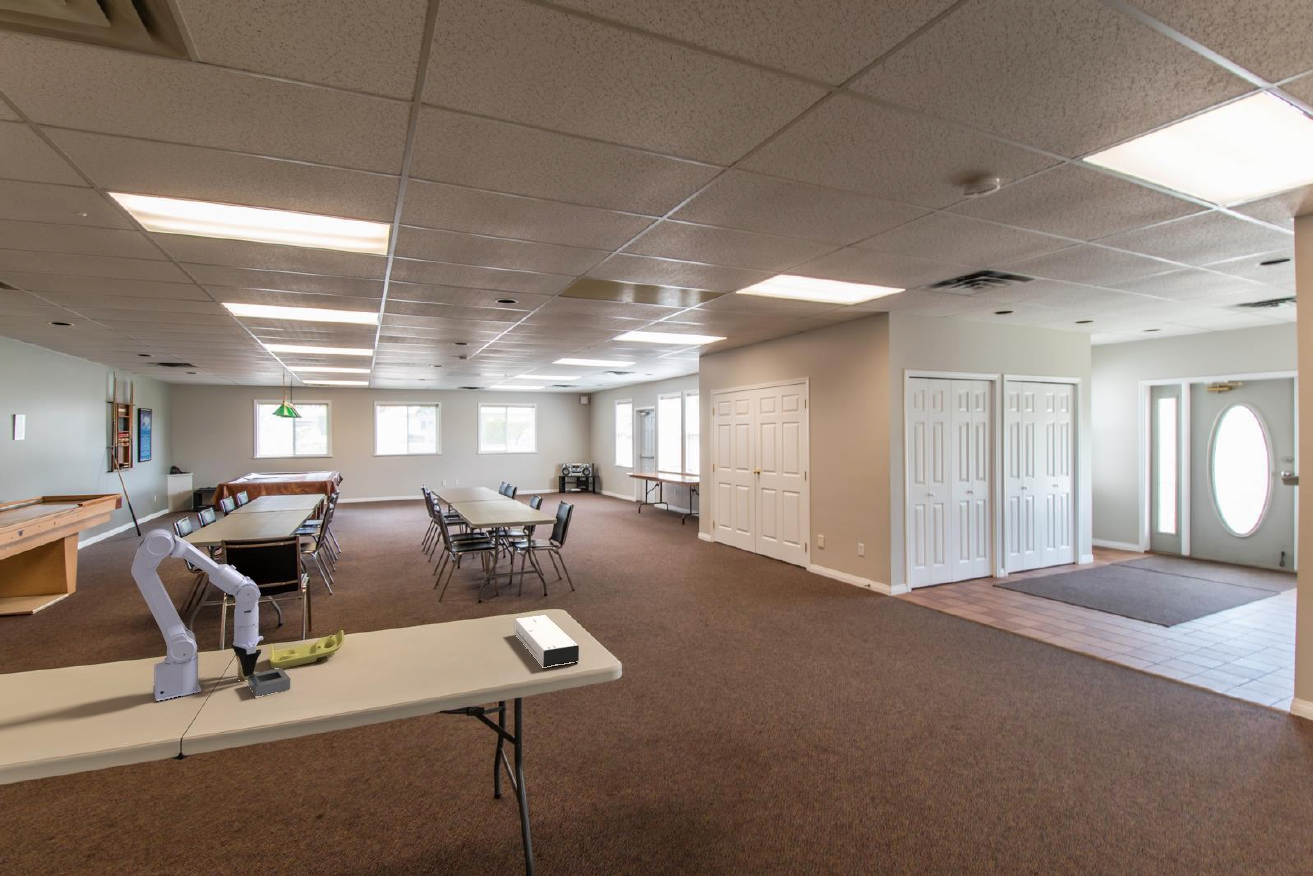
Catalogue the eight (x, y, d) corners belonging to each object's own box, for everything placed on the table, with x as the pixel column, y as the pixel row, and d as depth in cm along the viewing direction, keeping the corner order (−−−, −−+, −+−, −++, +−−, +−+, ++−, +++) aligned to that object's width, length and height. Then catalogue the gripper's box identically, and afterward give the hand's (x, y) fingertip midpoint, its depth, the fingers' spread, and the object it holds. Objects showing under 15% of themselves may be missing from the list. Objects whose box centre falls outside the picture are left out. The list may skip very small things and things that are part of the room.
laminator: (514, 636, 215) (514, 618, 215) (548, 631, 221) (548, 614, 221) (543, 671, 185) (543, 650, 185) (582, 664, 191) (582, 644, 191)
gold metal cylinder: (238, 683, 172) (239, 658, 172) (236, 678, 175) (236, 654, 175) (255, 679, 174) (255, 654, 174) (252, 674, 177) (253, 650, 177)
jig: (255, 698, 163) (255, 687, 162) (248, 686, 170) (248, 675, 170) (290, 689, 168) (290, 678, 168) (281, 678, 175) (281, 667, 175)
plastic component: (269, 664, 180) (270, 640, 187) (271, 682, 183) (272, 657, 191) (345, 648, 189) (343, 626, 197) (346, 666, 192) (344, 643, 200)
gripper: (268, 627, 172) (268, 676, 172) (257, 615, 182) (257, 661, 183) (238, 633, 167) (238, 683, 167) (228, 620, 178) (228, 667, 178)
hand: (246, 672), depth 175 cm, fingers open, 6 cm apart
